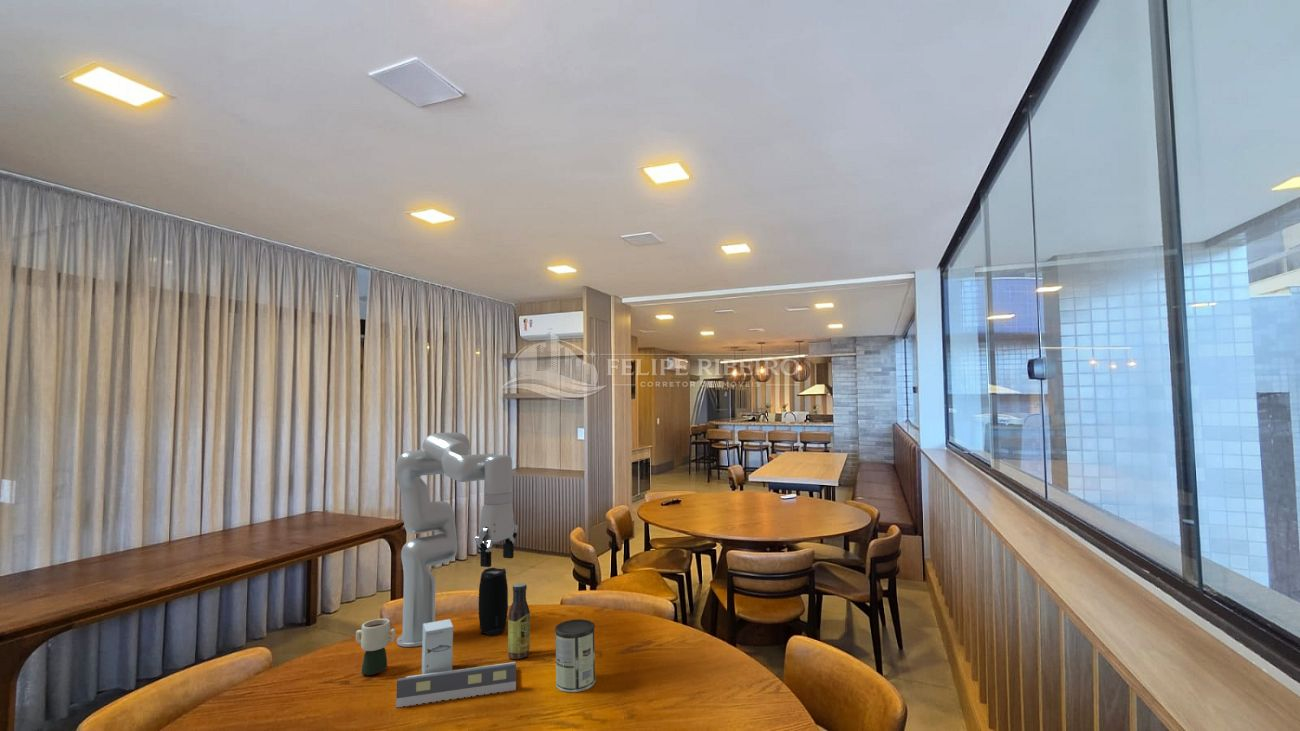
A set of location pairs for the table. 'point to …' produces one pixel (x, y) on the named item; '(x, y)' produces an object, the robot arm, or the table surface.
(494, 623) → the portable speaker
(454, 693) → the shelf board
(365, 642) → the character mug
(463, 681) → the rail
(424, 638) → the supplement box
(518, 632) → the sauce bottle
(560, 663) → the coffee can
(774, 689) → the table surface
